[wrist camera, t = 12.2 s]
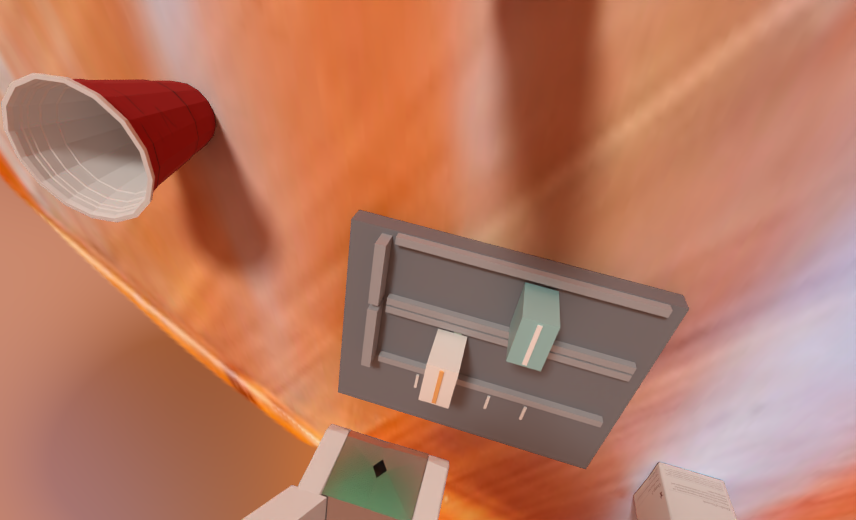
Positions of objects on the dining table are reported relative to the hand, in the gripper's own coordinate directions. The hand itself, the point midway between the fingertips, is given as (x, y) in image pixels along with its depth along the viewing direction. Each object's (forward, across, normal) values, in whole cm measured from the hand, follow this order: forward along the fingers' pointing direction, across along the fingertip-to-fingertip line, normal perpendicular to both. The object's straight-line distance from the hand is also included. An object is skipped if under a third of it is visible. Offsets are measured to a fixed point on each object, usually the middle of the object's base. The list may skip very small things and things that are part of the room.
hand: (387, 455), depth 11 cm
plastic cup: (+29, +28, +5) cm, 41 cm away
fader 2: (+27, -7, +14) cm, 31 cm away
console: (+29, -4, +22) cm, 37 cm away
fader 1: (+27, -1, +22) cm, 35 cm away
